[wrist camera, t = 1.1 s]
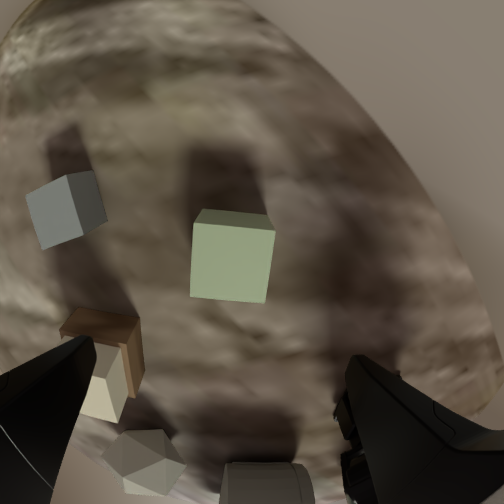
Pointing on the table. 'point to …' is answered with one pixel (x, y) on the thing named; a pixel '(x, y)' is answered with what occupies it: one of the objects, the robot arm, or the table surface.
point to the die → (144, 462)
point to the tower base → (112, 339)
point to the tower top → (105, 384)
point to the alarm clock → (266, 483)
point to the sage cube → (231, 255)
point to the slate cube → (66, 208)
